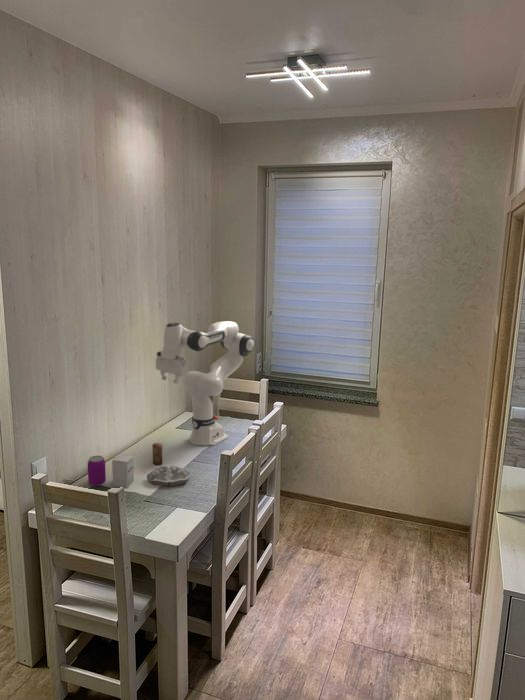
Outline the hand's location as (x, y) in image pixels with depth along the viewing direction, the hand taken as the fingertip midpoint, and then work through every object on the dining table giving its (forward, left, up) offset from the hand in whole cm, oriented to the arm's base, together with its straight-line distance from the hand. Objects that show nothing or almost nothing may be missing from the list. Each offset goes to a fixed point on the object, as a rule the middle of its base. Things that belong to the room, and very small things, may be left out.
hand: (169, 381), depth 260 cm
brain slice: (+20, +23, -39) cm, 50 cm away
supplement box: (+37, +12, -39) cm, 55 cm away
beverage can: (+45, +3, -39) cm, 60 cm away
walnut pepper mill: (+13, +6, -39) cm, 41 cm away
